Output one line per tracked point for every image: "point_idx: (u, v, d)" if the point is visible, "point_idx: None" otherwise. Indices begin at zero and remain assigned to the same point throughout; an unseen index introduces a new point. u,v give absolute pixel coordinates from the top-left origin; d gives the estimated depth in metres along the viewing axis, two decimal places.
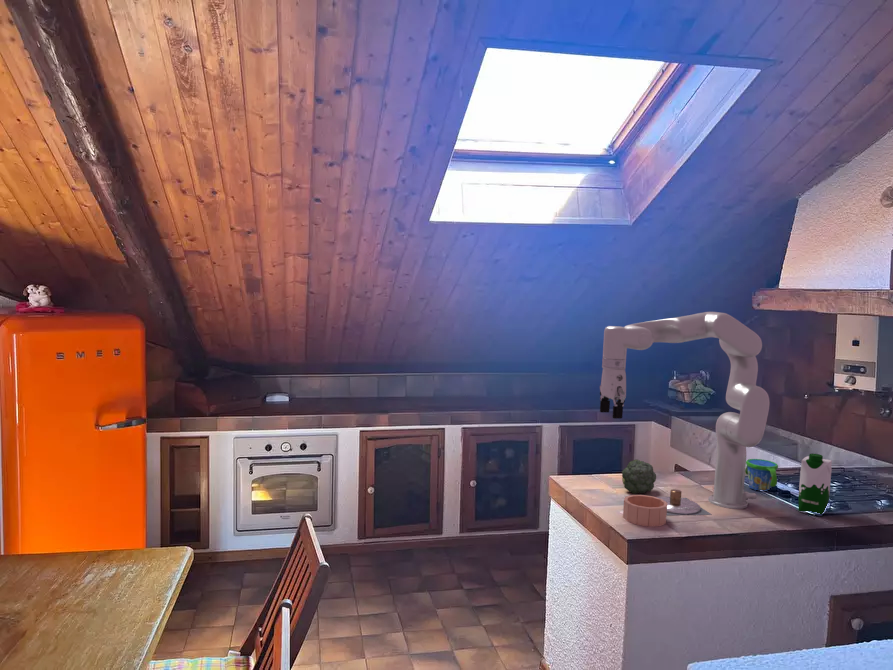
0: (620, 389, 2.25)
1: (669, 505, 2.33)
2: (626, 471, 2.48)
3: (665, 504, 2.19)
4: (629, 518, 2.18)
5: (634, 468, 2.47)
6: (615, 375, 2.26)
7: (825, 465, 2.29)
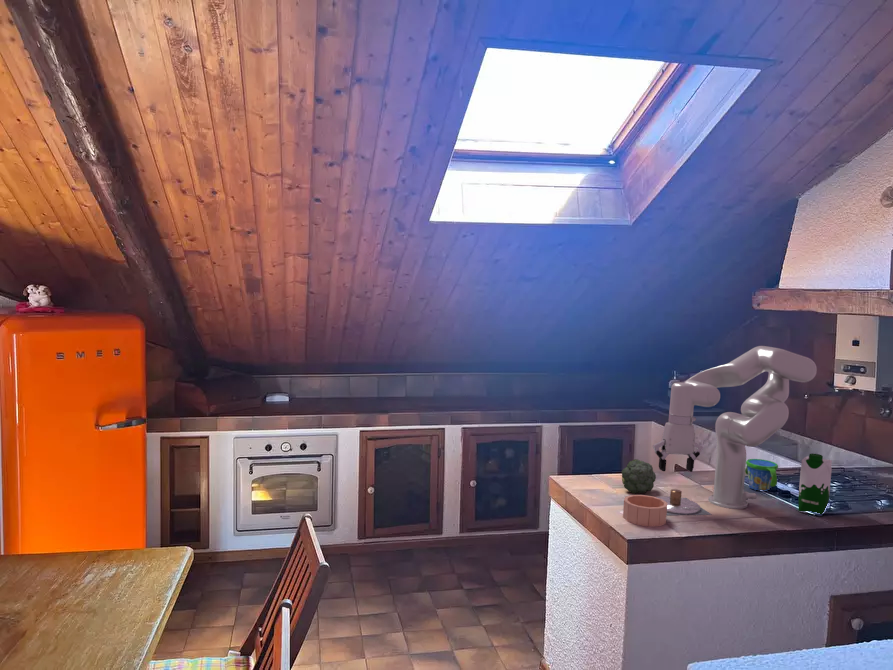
0: None
1: (669, 505, 2.33)
2: (626, 471, 2.48)
3: (665, 504, 2.19)
4: (629, 518, 2.18)
5: (634, 468, 2.47)
6: None
7: (825, 465, 2.29)
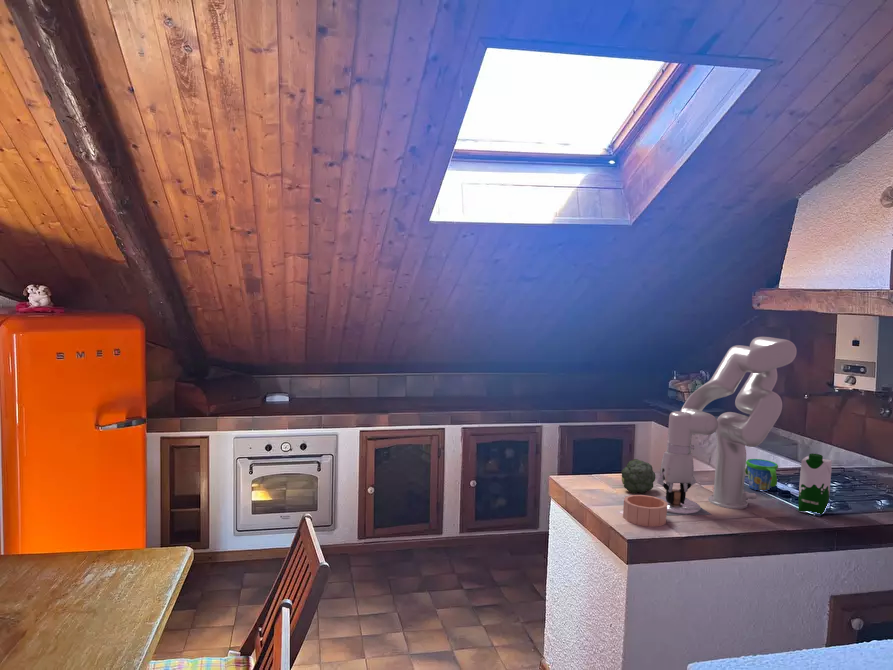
0: None
1: (669, 505, 2.33)
2: (626, 471, 2.49)
3: (665, 504, 2.19)
4: (629, 518, 2.18)
5: (634, 468, 2.48)
6: None
7: (825, 465, 2.29)
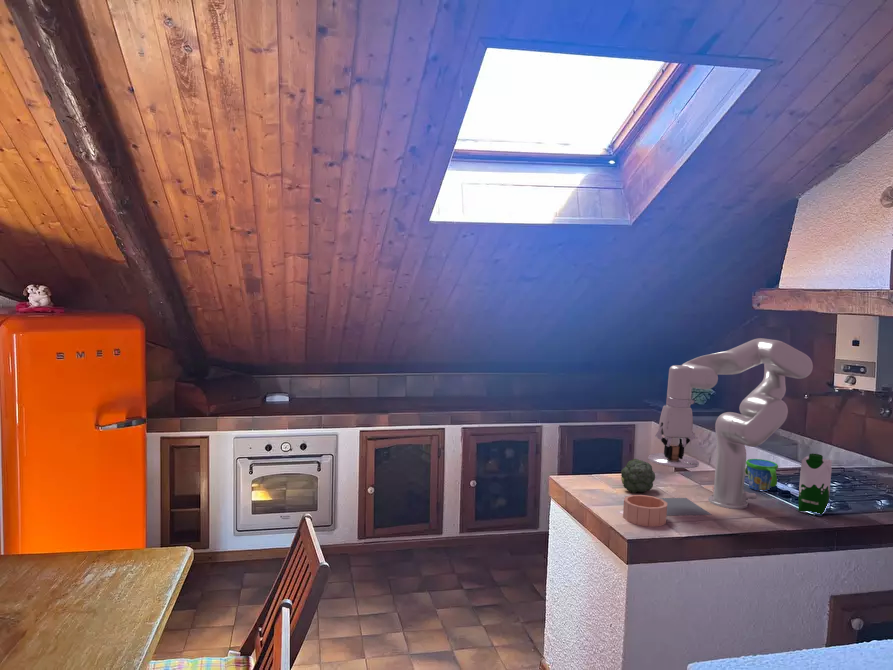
0: None
1: (667, 460, 2.30)
2: (625, 470, 2.49)
3: (665, 504, 2.19)
4: (629, 518, 2.18)
5: (633, 467, 2.48)
6: None
7: (825, 465, 2.29)
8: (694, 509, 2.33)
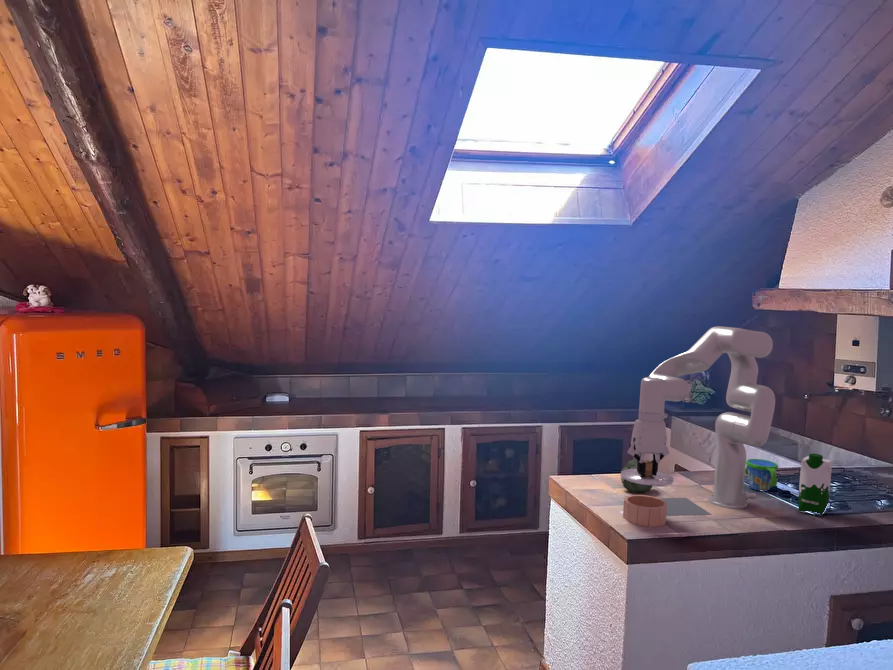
0: None
1: (640, 476, 2.19)
2: None
3: (665, 504, 2.19)
4: (629, 518, 2.18)
5: (633, 467, 2.48)
6: None
7: (825, 465, 2.29)
8: (694, 509, 2.33)
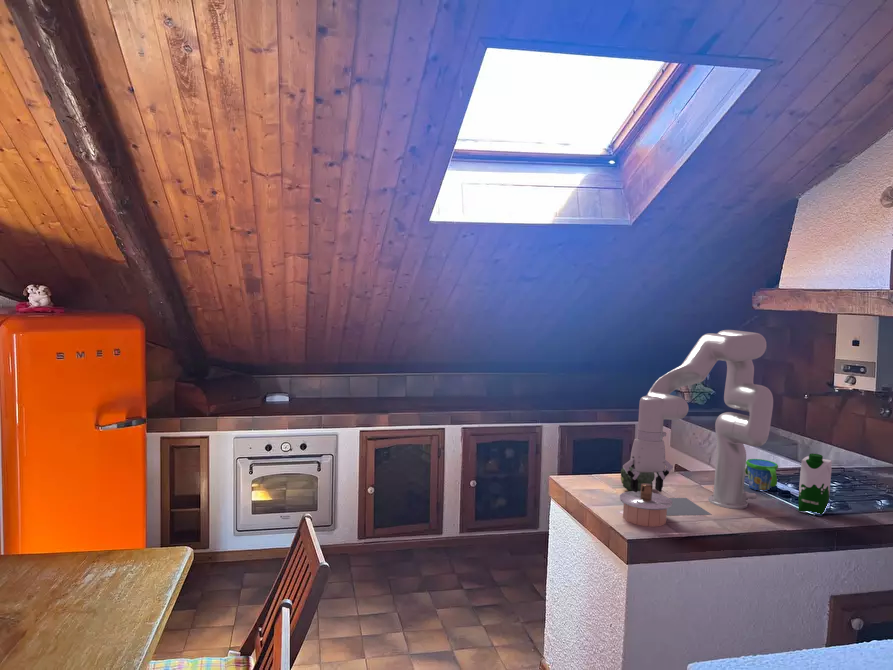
0: (665, 460, 2.21)
1: (639, 500, 2.20)
2: None
3: None
4: (629, 518, 2.18)
5: None
6: (664, 446, 2.19)
7: (825, 465, 2.29)
8: (694, 509, 2.33)
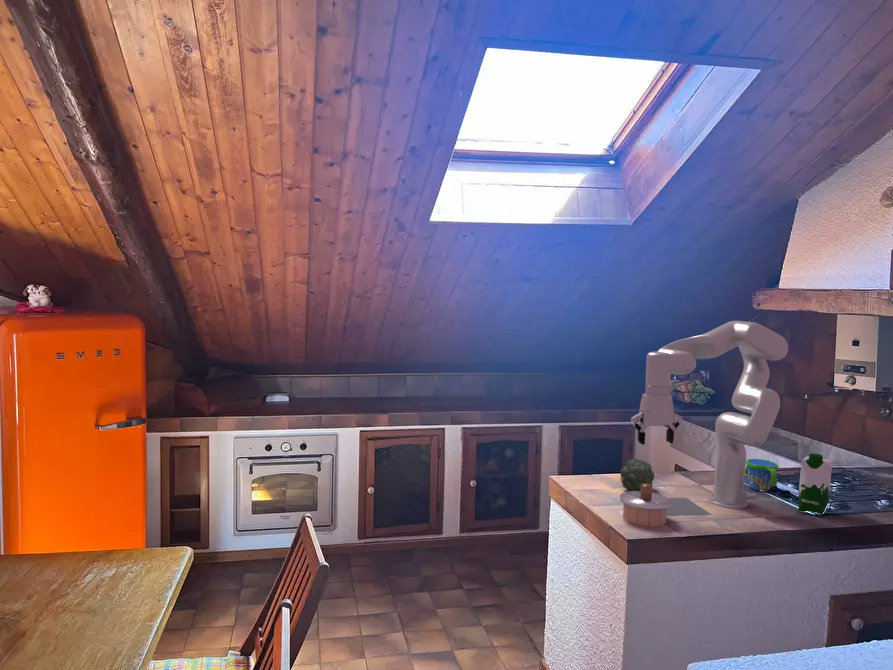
0: None
1: (639, 500, 2.20)
2: (625, 470, 2.50)
3: None
4: (629, 518, 2.18)
5: (632, 467, 2.49)
6: None
7: (825, 465, 2.29)
8: (694, 509, 2.33)
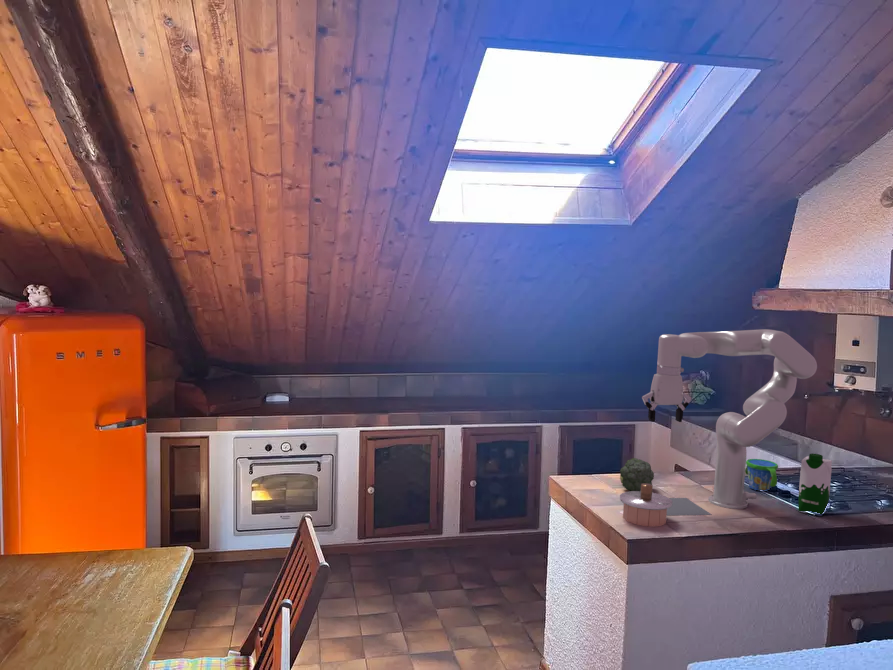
0: (683, 393, 2.37)
1: (639, 500, 2.20)
2: (624, 469, 2.50)
3: None
4: (629, 518, 2.18)
5: (632, 466, 2.49)
6: None
7: (825, 465, 2.29)
8: (694, 509, 2.33)
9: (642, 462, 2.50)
